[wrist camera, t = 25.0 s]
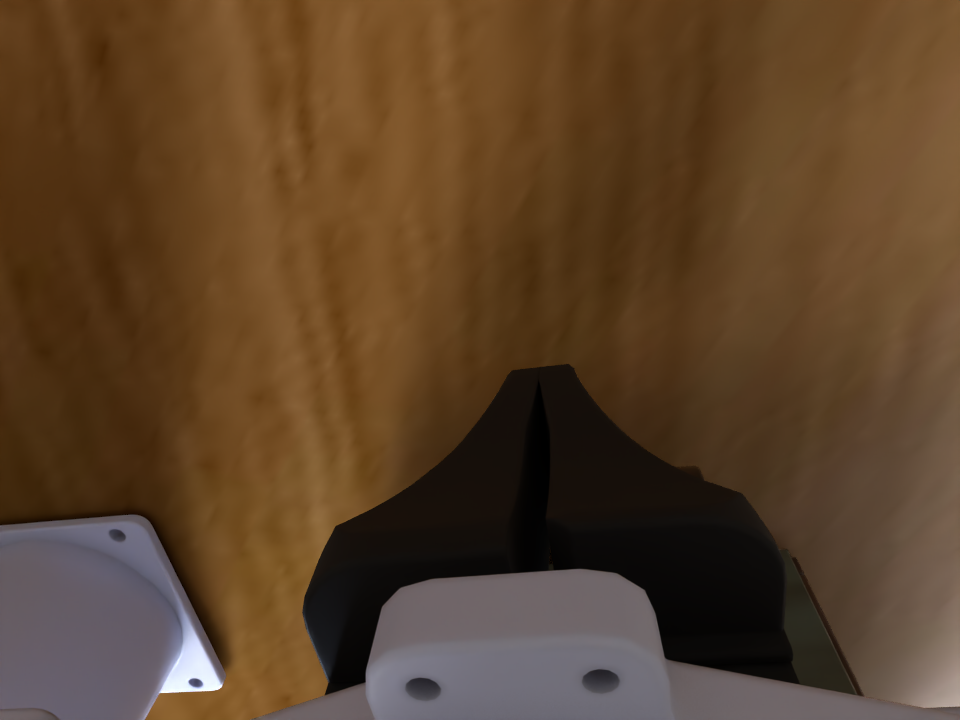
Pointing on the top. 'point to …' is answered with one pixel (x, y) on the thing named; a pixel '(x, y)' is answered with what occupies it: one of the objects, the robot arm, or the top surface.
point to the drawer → (804, 631)
